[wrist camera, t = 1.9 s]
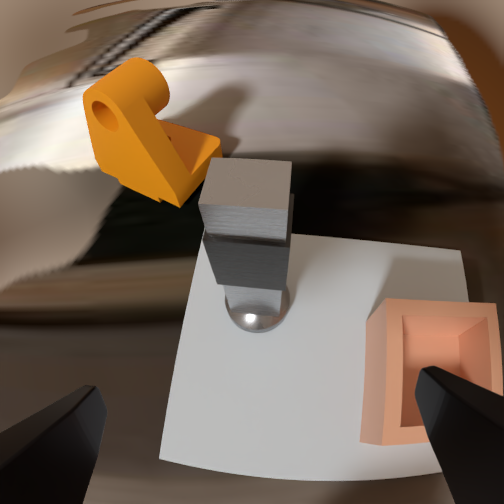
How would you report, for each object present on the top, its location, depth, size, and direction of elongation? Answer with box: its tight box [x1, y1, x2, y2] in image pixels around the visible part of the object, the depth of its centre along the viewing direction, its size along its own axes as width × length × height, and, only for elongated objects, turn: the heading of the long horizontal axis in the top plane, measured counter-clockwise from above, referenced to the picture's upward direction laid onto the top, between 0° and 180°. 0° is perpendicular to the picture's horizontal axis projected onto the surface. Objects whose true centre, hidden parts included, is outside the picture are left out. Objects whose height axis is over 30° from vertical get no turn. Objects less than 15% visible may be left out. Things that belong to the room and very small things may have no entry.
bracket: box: [83, 58, 222, 207], centre depth 26 cm, size 11×7×12 cm, turn 60°
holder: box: [359, 298, 503, 446], centre depth 17 cm, size 8×8×4 cm
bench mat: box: [159, 229, 469, 481], centre depth 21 cm, size 18×22×1 cm
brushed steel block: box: [198, 158, 294, 333], centre depth 17 cm, size 4×4×12 cm
